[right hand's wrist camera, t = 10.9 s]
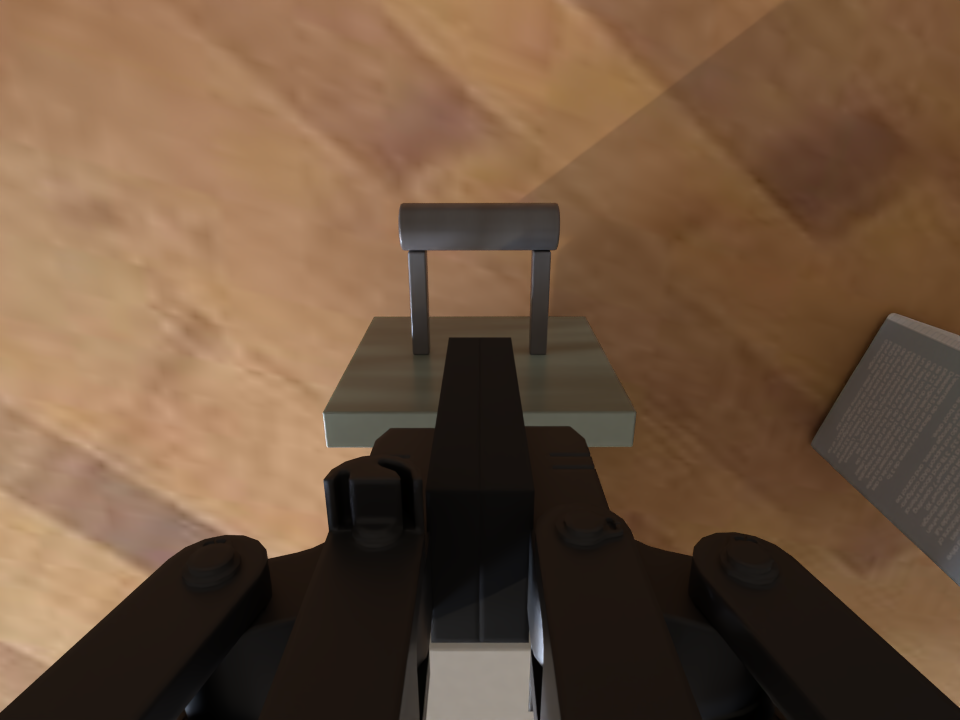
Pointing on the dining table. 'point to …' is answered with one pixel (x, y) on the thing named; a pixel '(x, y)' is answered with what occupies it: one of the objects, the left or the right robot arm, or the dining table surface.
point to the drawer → (423, 340)
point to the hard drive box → (904, 434)
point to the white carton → (479, 681)
